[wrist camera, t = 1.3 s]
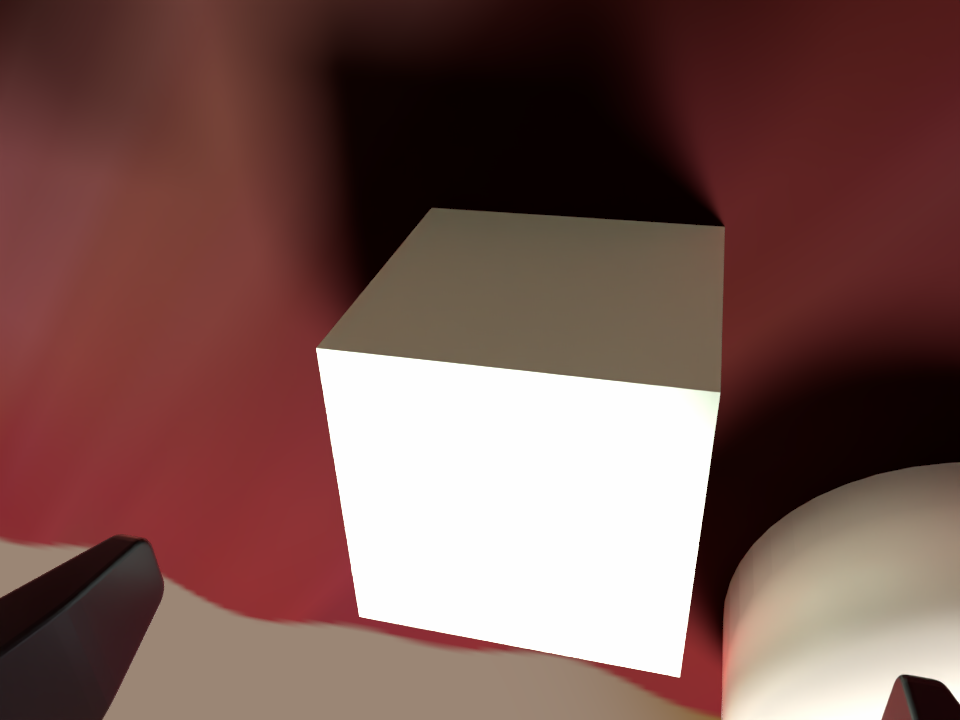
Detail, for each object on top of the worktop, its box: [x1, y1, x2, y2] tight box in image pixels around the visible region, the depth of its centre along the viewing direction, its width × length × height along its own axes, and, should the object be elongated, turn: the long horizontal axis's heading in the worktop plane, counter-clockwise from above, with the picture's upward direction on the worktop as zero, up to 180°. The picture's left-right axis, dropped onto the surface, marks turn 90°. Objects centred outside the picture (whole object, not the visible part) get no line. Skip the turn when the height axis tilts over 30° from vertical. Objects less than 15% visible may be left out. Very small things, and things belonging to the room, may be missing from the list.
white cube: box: [316, 208, 725, 677], centre depth 13 cm, size 5×5×5 cm
